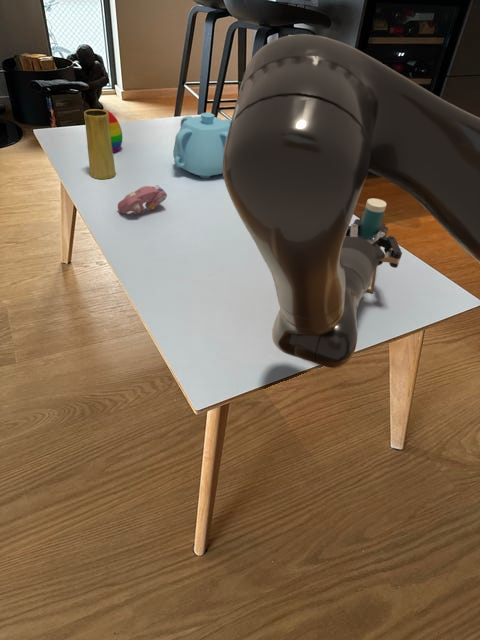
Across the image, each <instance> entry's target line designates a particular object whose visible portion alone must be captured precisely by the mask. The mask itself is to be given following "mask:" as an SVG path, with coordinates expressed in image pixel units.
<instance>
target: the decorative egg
mask: <svg viewBox="0 0 480 640" xmlns="http://www.w3.org/2000/svg"><path fill="white" fill-rule="evenodd" d="M104 110H105V111H107V112H108V115H109V126H110V135H111V144H112V151H113V153H116V152H118V151H119V150H120V148H121V147H122V143H123V131H122V127H121V125H120V122H119V120H118V119H117V117H116V115H114V114H113V113H112V112H110V111H109V110H106V109H104Z"/></svg>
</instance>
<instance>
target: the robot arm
mask: <svg viewBox="0 0 480 640" xmlns="http://www.w3.org/2000/svg"><path fill="white" fill-rule="evenodd" d="M230 120H231V124H230V128H229V131H228V135H227V138H226V142H225V147H224V155H223V173H222V177H223V181H224V185H225V187H226V190H227V192H228V194H229V195H228V196H229V197H230V200H231V202H232V204H233V206H234V208H235V210H236V212H237V214H238V216H239V218H240V220H241V222H242V223H243V225H244V227H245V229H246V230H247V232H248V234H249V236H250V237H251V239H252V240H253V242H254V243H255V246H256V247H257V249H258V251H259V253H260V255H261V257H262V259H263V260H264V262H265V264H266V266H267V267H268V269H269V271H270V274H271V276H272V281H273V283H274V287H275V291H276V297H277V302H278V306H279V310H278V312H277V315H276V317H275V319H274V323H273V324H272V325H273V326H272V330H271V339H272V343H273V345H274V346H275V347H276V348H277V349H278V350H279V351H280V352H282V353H284V354H285V355H288V356H292V357H295V358H298V359H301V360H304V361H307V362H309V363H310V362H311V363H314V364H316V365H320V366H322V367H326V368H330V369H331V368H332V369H334V368H340V367H342V366H343V365H345V364H347V363H348V362H349V361H350V360H351V359H352V357H353V356H354V353H355V351H356V348H357V343H358V320H357V310H358V307H359V304H360V302H361V300H362V298H363V296H364V295H365V294H366V293H367V292H366V290H367V289H368V287H369V286H370V283H371V280H372V278H373V275H374V273H375V271H376V272H377V269H376V268H378V267H379V266H382V264H383V263H388V264H389V266H390V267H391V268H394V269H395V268H398V267H399V264H400V262H401V261H400V260H401V258H402V255H403V252H402V250H401V248H400V246H399V244H398V241H397V239H396V237H395V236H394V235H393V236H392V235H388V236H387V234H388V231H389V227H387V226H386V225H387V224H386V223H383V222H381V224H380V228H379V230H378V232H377V234H374V235H373V236H371V237H370V238H369V239H368V238H363V237H361V236H358V233H359V229H360V225H361V221H362V218H363V216H360V218H359V219H358V218H356V219H354V221H353V223H351V222H352V220H353V219H352V218H353V216H354V214H355V213H354V212H355V210H356V208H357V205H358V202H359V199H360V196H361V194H362V191H363V189H364V186H365V183H366V180H367V179H368V173H370V174H374V175H376V176H378V177H381V178H383V179H385V180H387V181H389V182H390V183H392V184H394V185H396V186H397V187H399V188H400V189H402V190H403V191H405V192H406V193H408V194H409V195H410V196H411V197H412V198H414V199H415V200H416V201H417V202H418V203H419V204H420V205H421V206H422V207H423V209H425V210H426V211H427V212H428V213H429V214H430V215H431V217H432V218H433V219H435V221H437V223H438V224H439V226H441V227H442V228H443V229H444V230H445V231H446V233H448V235H449V236H450V237H451V238H452V239H453V240H454V241H455V242H456V243H457V244H458V245H459V246H460V247H461V248H462V249H463V250H464V251H465V253H467V254H468V255H469V256H470V257H471V258H472V259H473V260H475V261H476V262H477V263H478V264H480V117H479V116H476V115H475V114H472V113H470V112H468V111H466V110H464V109H462V108H459V107H458V106H456V105H454V104H452V103H450V102H449V101H447V100H445V99H444V98H441V97H439V96H438V95H435V93H432V92H431V91H429V90H428V89H426V88H424V87H423V86H421V85H419V84H418V83H416V82H414V81H413V80H411V79H409V78H407V77H406V76H404V75H403V74H401V73H399V72H398V71H396V70H395V69H392V68H391V67H389V66H387V65H386V64H383V63H382V62H381V61H380V60H378V59H376V58H374V57H372V56H370V55H369V54H366V53H364V52H363V51H361V50H360V49H357V48H356V47H353V46H351V45H349V44H347V43H344V42H342V41H339V40H336V39H333V38H329V37H326V36H322V35H316V34H306V33H305V34H304V33H299V34H292V35H291V34H290V35H285V36H282V37H278V38H276V39H273V40H271V41H269V42H268V43H267V44H265V45H263V46H261V48H259V49H258V50H257V51H256V52H255V53H254V55H253V56H252V57H251V59H250V61H249V62H248V64H247V67H246V68H245V71H244V72H243V77H242V80H241V84H240V87H239V92H238V94H237V98H236V101H235V106H234V109H233V113H232V117H231V119H230ZM382 248H383V249H382Z"/></svg>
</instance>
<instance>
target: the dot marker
mask: <svg viewBox="0 0 480 640" xmlns="http://www.w3.org/2000/svg"><path fill="white" fill-rule="evenodd" d="M386 209H387V202H386V201H385V200H382V199H380V198H373V197H372V198H368V199H367V200H366V204H365V208H364V210H363V215H362V221H361V225H360V229H359V233H358V236H361V237H363V238H368V239H369V238H370V237H371V236H373V235H374V234H377V232H378V230H379V228H380V226H381V224H382V221H383V217H384V215H385V211H386Z"/></svg>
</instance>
